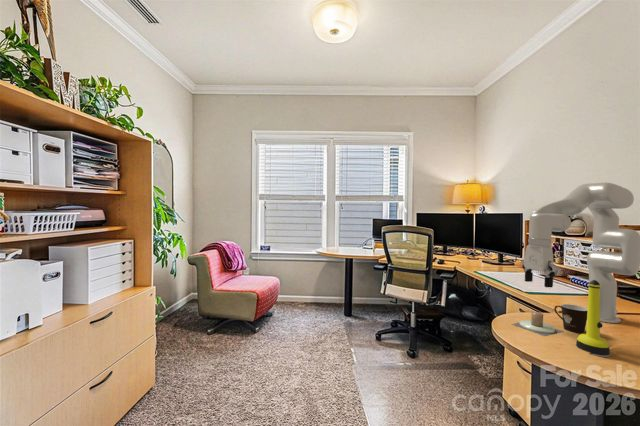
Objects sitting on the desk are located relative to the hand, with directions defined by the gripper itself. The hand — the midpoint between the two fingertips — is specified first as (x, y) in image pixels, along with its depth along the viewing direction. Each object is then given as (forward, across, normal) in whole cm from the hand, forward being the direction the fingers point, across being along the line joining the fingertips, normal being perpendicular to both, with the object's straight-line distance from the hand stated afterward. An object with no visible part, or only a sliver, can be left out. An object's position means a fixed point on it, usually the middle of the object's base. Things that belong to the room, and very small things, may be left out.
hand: (538, 284), depth 124 cm
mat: (+19, 0, 0) cm, 19 cm away
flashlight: (+19, +19, +4) cm, 27 cm away
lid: (+18, 0, 0) cm, 18 cm away
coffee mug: (+19, +2, +15) cm, 24 cm away
